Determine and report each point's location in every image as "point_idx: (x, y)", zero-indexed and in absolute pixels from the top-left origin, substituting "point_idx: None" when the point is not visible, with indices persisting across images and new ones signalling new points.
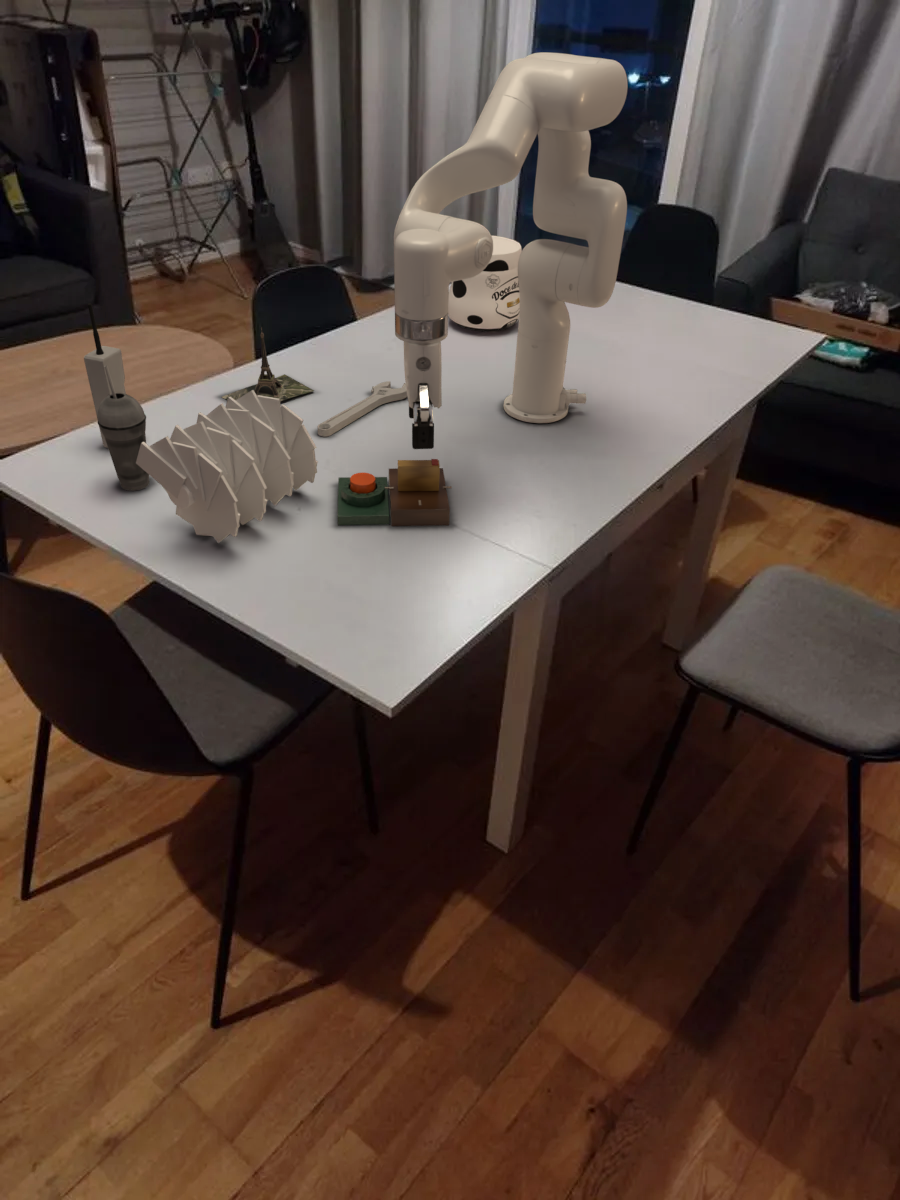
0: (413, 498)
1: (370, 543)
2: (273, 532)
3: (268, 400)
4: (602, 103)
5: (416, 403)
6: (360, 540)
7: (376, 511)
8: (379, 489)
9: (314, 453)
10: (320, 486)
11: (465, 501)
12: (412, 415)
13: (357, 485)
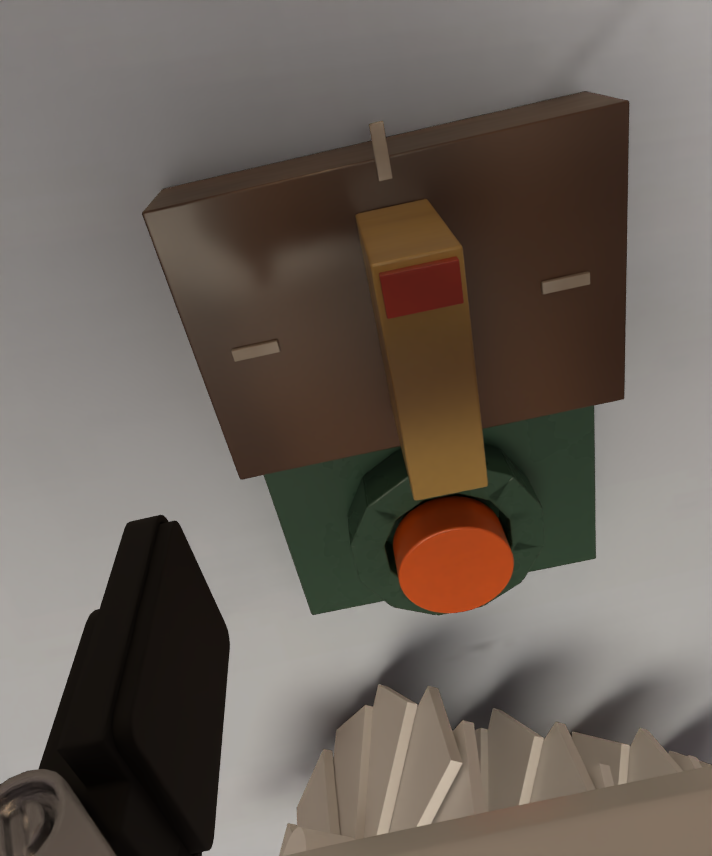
0: (514, 321)
1: (706, 410)
2: (615, 668)
3: None
4: None
5: (199, 731)
6: (681, 446)
7: (559, 445)
8: None
9: (475, 808)
10: (324, 632)
11: (321, 16)
12: (220, 642)
13: (509, 575)
